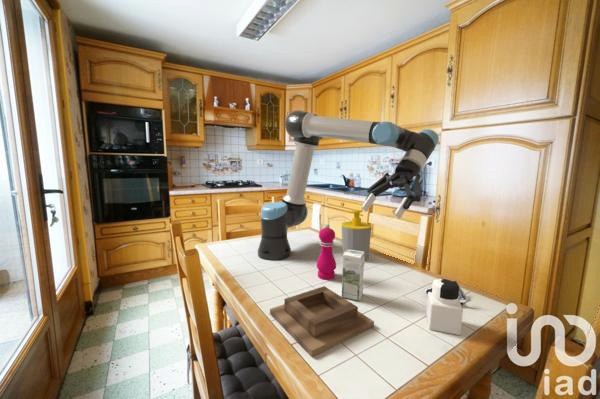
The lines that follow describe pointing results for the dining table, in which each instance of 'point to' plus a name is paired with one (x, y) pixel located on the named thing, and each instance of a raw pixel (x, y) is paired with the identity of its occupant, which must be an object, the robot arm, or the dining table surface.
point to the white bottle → (444, 307)
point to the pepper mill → (326, 254)
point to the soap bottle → (356, 235)
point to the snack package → (461, 293)
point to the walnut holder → (320, 319)
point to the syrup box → (352, 274)
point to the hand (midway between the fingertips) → (379, 212)
